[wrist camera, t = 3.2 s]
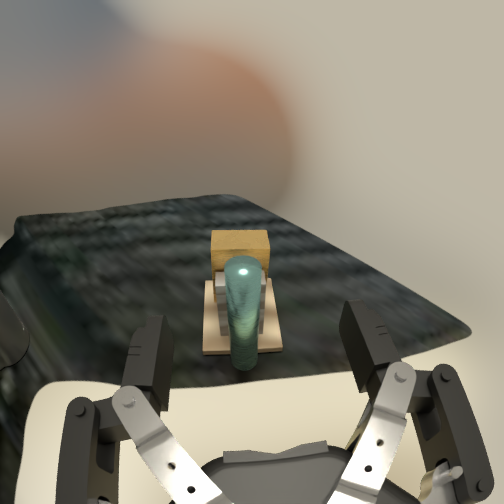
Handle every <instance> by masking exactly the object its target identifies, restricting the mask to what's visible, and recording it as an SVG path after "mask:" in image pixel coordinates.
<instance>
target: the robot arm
mask: <svg viewBox="0 0 504 504" xmlns="http://www.w3.org/2000/svg"><path fill="white" fill-rule="evenodd" d="M339 332H340V336H341V339H342V342H343V345H344V348H345V351H346V354H347V356H348V359H349V362H350V365H351V368H352V371H353V374H354V377H355V381H356V383H357V387H358V390H359V393H363V392H368V395H369V398H370V399H369V401H368V403H367V405H366V408H365V410H364V412H363V415H362V417H361V419H360V421H359V423H358V425H357V428H356V430H355V432H354V434H353V435H352V437H351V439H350V440H349V442H348V444H347V446H346V447H345V449H343V448H339V447H336V446H329V445H327V442H326V440H325V441H321V442H314V443H308V444H302V445H299V446H297V447H294V448H291V449H289V450H286V451H283V452H281V453H277V454H272V453H264V452H257V451H251V450H245V451H224V452H223V457H219V458H217V459H214V460H212V461H210V462H208V463H206V464H205V465H204V466H202V467H201V468H199V467H198V465H197V464H196V463H195V462H194V461H193V460H192V459H191V457H190V456H189V455H188V454H187V453H186V451H185V450H184V449H183V448H182V446H181V445H180V444H179V443H178V441H177V440H176V439H175V437H174V436H173V435H172V434H171V432H170V431H169V430H168V428H167V427H166V426H165V424H164V423H163V422H162V420H161V419H160V412H161V411H168V403H169V392H170V381H171V371H172V362H173V353H174V340H173V336H172V333H171V330H170V327H169V324H168V321H167V318H166V316H165V315H158V316H148V318H147V323H146V327H145V328H138V329H137V330H136V332H135V333H134V334H133V336H132V339H131V343H130V348H129V352H128V356H127V361H126V365H125V370H124V375H123V379H122V384H121V387H120V389H119V390H117V391H116V392H115V394H114V395H113V396H112V397H110V398H107V399H103V400H99V401H94V402H92V401H91V400H90V399H88V398H86V397H77V398H75V399H73V400H72V401H71V402H70V403H69V405H68V407H67V410H66V416H65V422H64V428H63V433H62V440H61V447H60V454H59V463H58V473H57V485H56V501H55V504H118V481H119V452H120V441H123V440H128V439H132V440H133V441H134V443H135V445H136V449H137V451H138V453H139V454H140V456H141V457H142V459H143V460H144V462H145V463H146V465H147V466H148V468H149V469H150V470H151V471H152V473H153V474H154V476H155V477H156V479H157V480H158V481H159V482H160V484H161V485H162V486H163V488H164V489H165V490H166V492H167V493H168V494H169V495H170V496H171V498H172V499H173V500H172V501H171V502H170V503H169V504H475V503H478V502H480V501H483V500H485V499H486V498H487V497H488V496H489V495H490V494H491V492H492V490H493V487H494V478H493V474H492V470H491V466H490V463H489V459H488V456H487V452H486V449H485V446H484V443H483V439H482V436H481V433H480V431H479V428H478V425H477V422H476V419H475V416H474V414H473V411H472V408H471V406H470V403H469V401H468V398H467V396H466V393H465V391H464V388H463V386H462V384H461V381H460V379H459V376H458V374H457V372H456V371H455V369H454V368H453V367H451V366H450V365H447V364H439V365H437V366H436V367H435V368H434V370H433V371H420V370H414V369H413V367H412V366H410V365H409V364H407V363H405V362H402V361H401V359H400V357H399V354H398V352H397V350H396V348H395V346H394V343H393V341H392V339H391V337H390V335H389V334H388V331H387V329H386V327H385V324H384V322H383V320H382V318H381V316H380V315H379V314H377V313H376V312H375V311H374V310H373V309H370V310H367V308H366V306H365V303H364V301H363V300H362V299H359V300H351V301H346V302H345V304H344V308H343V312H342V315H341V319H340V323H339ZM28 345H29V333H28V331H27V329H26V328H25V327H24V325H23V324H22V322H21V321H20V320H19V318H18V317H17V315H16V314H15V312H14V311H13V309H12V308H11V306H10V305H9V303H8V302H7V300H6V298H5V297H4V295H3V294H2V292H1V290H0V370H1V369H2V368H3V367H6V366H10V365H13V364H15V363H16V362H18V361H19V360H20V359H21V358H22V357H23V355H24V354H25V352H26V350H27V348H28ZM406 413H411V416H412V420H413V423H414V426H415V430H416V433H417V437H418V440H419V444H420V448H421V452H422V455H423V460H424V464H425V468H426V472H427V473H426V474H425V475H424V476H423V478H422V480H421V487H420V490H421V492H420V495H419V497H418V499H416V498H415V497H414V496H412V495H411V494H409V493H408V492H406V491H405V490H403V489H402V488H400V487H399V486H397V485H396V484H394V483H393V482H391V481H390V480H389V479H387V478H386V475H387V473H388V470H389V468H390V466H391V463H392V461H393V459H394V456H395V453H396V451H397V449H398V445H399V443H400V440H401V438H402V435H403V432H404V429H405V426H406V422H407V420H406V419H405V415H406Z"/></svg>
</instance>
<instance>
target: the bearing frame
mask: <svg viewBox="0 0 504 504" xmlns="http://www.w3.org/2000/svg"><path fill="white" fill-rule="evenodd" d="M215 289H216V298H217V302H214V294H213V281H206V283H205V303H204V326H203V355H216V354H230V342H229V329H228V316H227V303H226V288H225V273H224V272H216V275H215ZM282 348H283V346H282V340H281V334H280V328H279V323H278V317H277V311H276V305H275V300H274V294H273V288H272V283H271V278H267V284H266V280H265V273H264V270H262V275H261V296H260V317H259V337H258V353H261V352H275V351H282Z"/></svg>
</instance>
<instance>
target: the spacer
mask: <svg viewBox="0 0 504 504" xmlns="http://www.w3.org/2000/svg"><path fill="white" fill-rule="evenodd" d="M240 255H247V256H251V257H254V258H256V259H257V260H258V261H259V262H260V263H261V265H262V270H264V273H265V280H266V284H267V275H268V266H269V256H270V245H269V240H268V235H267V231H266V230H212V239H211V260H212V278H213V294H214V302H217V298H216V289H215V275H216V272H224V266H225V263H226V262H227V261H228V260H229V259H230V258H232V257H235V256H240Z"/></svg>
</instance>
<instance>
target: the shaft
mask: <svg viewBox="0 0 504 504" xmlns="http://www.w3.org/2000/svg"><path fill="white" fill-rule="evenodd" d="M224 273H225V288H226V303H227V316H228V329H229V342H230V354H231V362H232V365H233V366H234V367H235V368H237V369H239V370H250V369H252V368H253V367H254V366H255V365H256V363H257V356H258V337H259V317H260V296H261V275H262V265H261V263H260V262H259V261H258V260H257V259H256V258H254V257H251V256H247V255H240V256H235V257H232V258H230V259H229V260H228V261H227V262H226V263H225V266H224Z"/></svg>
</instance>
